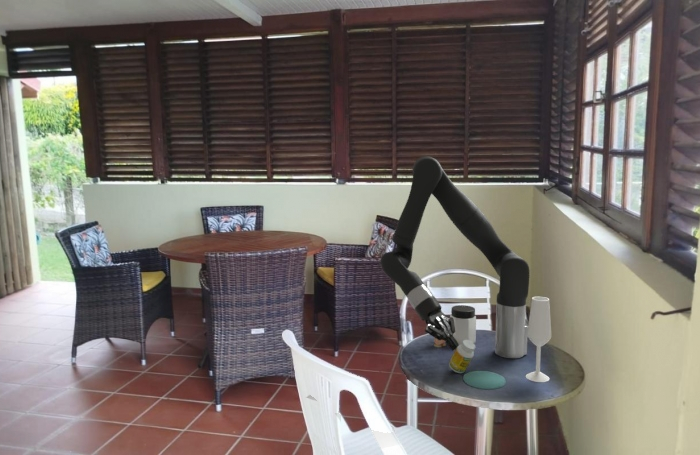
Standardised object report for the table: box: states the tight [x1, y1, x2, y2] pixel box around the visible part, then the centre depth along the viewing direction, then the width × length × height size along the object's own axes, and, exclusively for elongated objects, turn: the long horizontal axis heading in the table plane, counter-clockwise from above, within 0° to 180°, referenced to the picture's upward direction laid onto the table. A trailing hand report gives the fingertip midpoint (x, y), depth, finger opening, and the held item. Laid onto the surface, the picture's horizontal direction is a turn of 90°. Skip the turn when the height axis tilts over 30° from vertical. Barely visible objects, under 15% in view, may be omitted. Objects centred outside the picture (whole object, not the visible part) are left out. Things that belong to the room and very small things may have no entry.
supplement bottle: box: [448, 340, 476, 374], centre depth 164 cm, size 5×5×10 cm
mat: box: [462, 370, 507, 390], centre depth 160 cm, size 12×12×1 cm
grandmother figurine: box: [433, 309, 447, 348], centre depth 187 cm, size 8×4×13 cm, turn 133°
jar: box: [449, 304, 477, 345], centre depth 192 cm, size 9×8×12 cm
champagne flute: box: [525, 296, 552, 383], centre depth 160 cm, size 7×7×24 cm
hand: (456, 348), depth 166 cm, fingers closed
